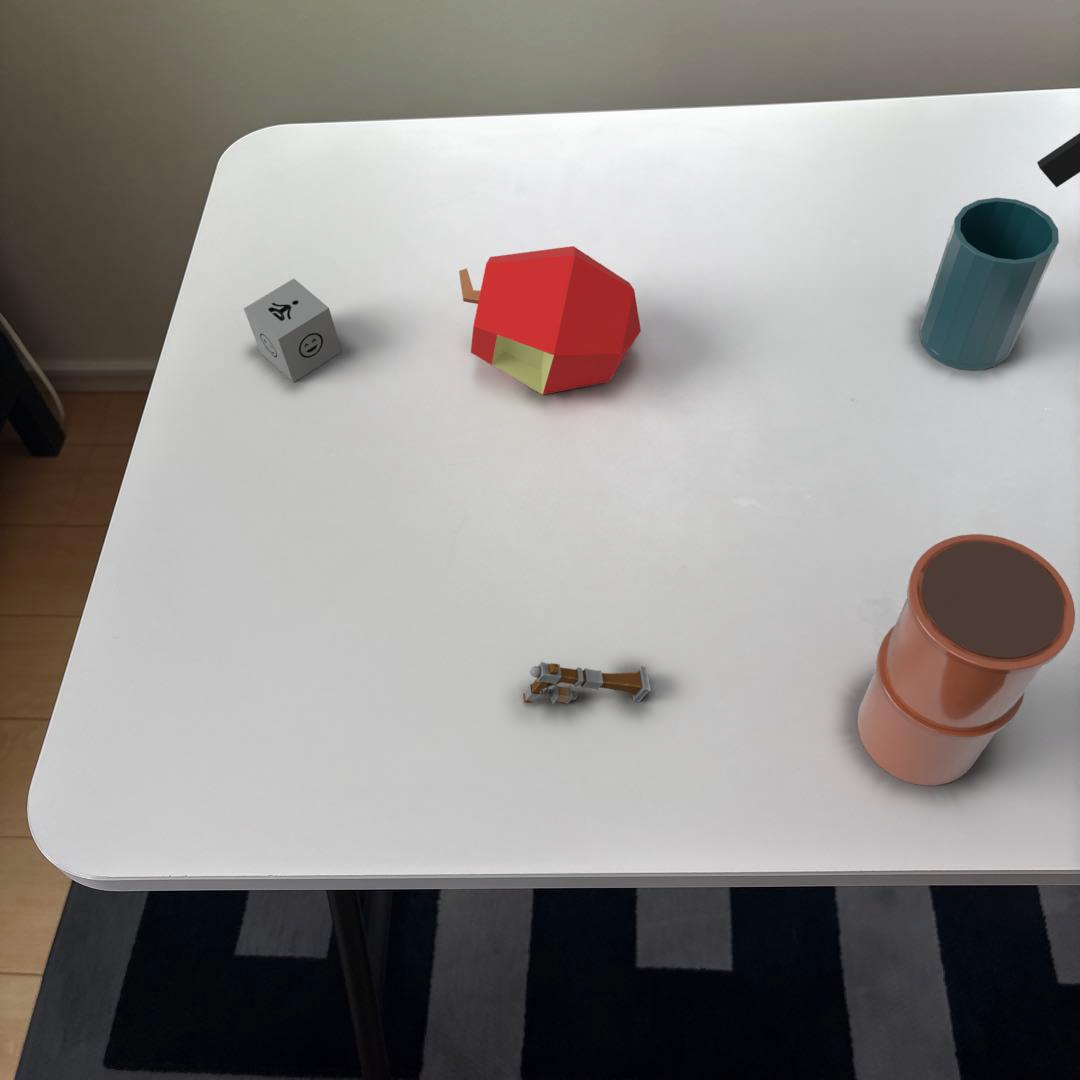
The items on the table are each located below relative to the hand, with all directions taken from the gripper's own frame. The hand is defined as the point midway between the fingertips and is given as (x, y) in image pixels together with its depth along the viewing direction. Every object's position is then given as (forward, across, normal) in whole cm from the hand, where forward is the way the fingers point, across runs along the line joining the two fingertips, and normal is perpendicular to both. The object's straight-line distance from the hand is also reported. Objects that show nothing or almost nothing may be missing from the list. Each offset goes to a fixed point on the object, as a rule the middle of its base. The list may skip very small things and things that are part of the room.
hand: (1072, 233), depth 79 cm
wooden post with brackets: (+34, -31, +19) cm, 50 cm away
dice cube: (+50, +2, +35) cm, 61 cm away
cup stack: (+19, -34, +4) cm, 39 cm away
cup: (+11, 0, -4) cm, 11 cm away
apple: (+34, -1, +20) cm, 40 cm away
